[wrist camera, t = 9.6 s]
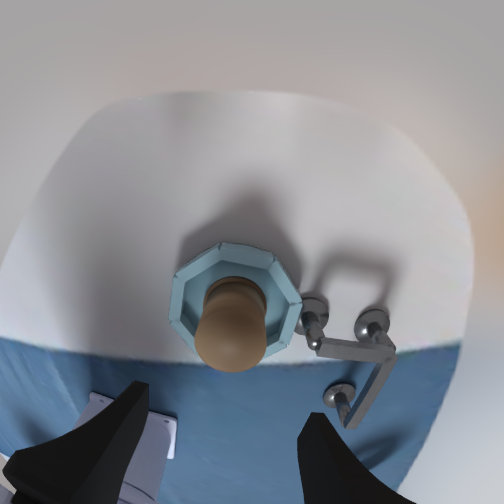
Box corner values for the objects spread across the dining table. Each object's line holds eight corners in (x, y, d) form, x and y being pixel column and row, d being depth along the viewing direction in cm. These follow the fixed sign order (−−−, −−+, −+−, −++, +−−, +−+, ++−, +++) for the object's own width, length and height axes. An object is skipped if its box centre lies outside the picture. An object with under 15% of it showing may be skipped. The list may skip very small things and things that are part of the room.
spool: (199, 323, 21) (185, 365, 16) (210, 269, 20) (197, 301, 15) (257, 337, 21) (258, 380, 16) (274, 284, 20) (280, 320, 15)
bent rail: (260, 397, 24) (261, 435, 19) (294, 294, 21) (303, 325, 16) (346, 405, 24) (358, 439, 20) (393, 311, 21) (418, 341, 17)
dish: (171, 337, 22) (165, 349, 20) (185, 231, 20) (179, 237, 18) (277, 358, 22) (279, 372, 21) (309, 258, 20) (314, 266, 18)
